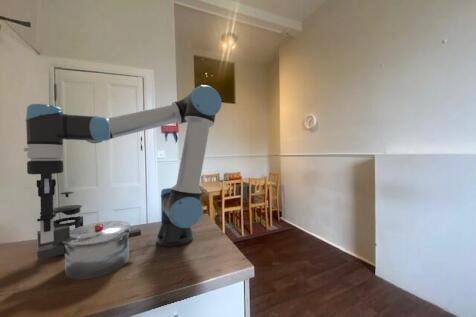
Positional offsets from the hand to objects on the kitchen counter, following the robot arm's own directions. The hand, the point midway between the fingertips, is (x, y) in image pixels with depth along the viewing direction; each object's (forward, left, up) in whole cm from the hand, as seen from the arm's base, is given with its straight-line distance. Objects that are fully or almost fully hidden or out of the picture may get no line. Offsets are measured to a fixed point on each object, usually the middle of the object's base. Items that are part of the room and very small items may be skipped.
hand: (47, 241), depth 58 cm
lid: (-5, -9, -2) cm, 11 cm away
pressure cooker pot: (-7, -11, -13) cm, 18 cm away
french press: (+12, -21, -13) cm, 28 cm away
